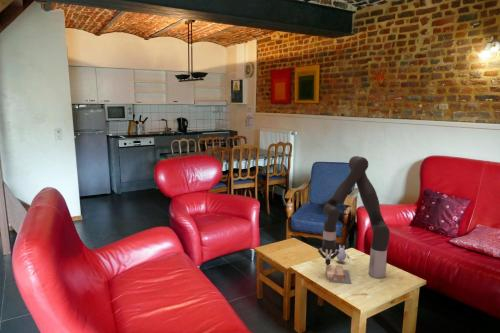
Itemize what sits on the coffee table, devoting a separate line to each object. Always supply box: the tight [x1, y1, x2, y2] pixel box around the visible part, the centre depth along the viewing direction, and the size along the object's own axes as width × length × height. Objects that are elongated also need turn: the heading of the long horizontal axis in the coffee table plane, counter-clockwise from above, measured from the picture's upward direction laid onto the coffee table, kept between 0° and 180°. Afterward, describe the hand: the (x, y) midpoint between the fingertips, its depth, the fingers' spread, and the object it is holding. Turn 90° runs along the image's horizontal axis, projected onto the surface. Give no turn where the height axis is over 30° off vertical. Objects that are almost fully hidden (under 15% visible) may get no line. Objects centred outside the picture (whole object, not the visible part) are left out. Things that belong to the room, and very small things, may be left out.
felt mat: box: [328, 269, 352, 285], centre depth 216 cm, size 13×16×1 cm
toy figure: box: [336, 244, 350, 264], centre depth 232 cm, size 11×6×12 cm, turn 65°
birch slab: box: [325, 263, 345, 281], centre depth 215 cm, size 4×12×10 cm
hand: (327, 264), depth 215 cm, fingers closed
